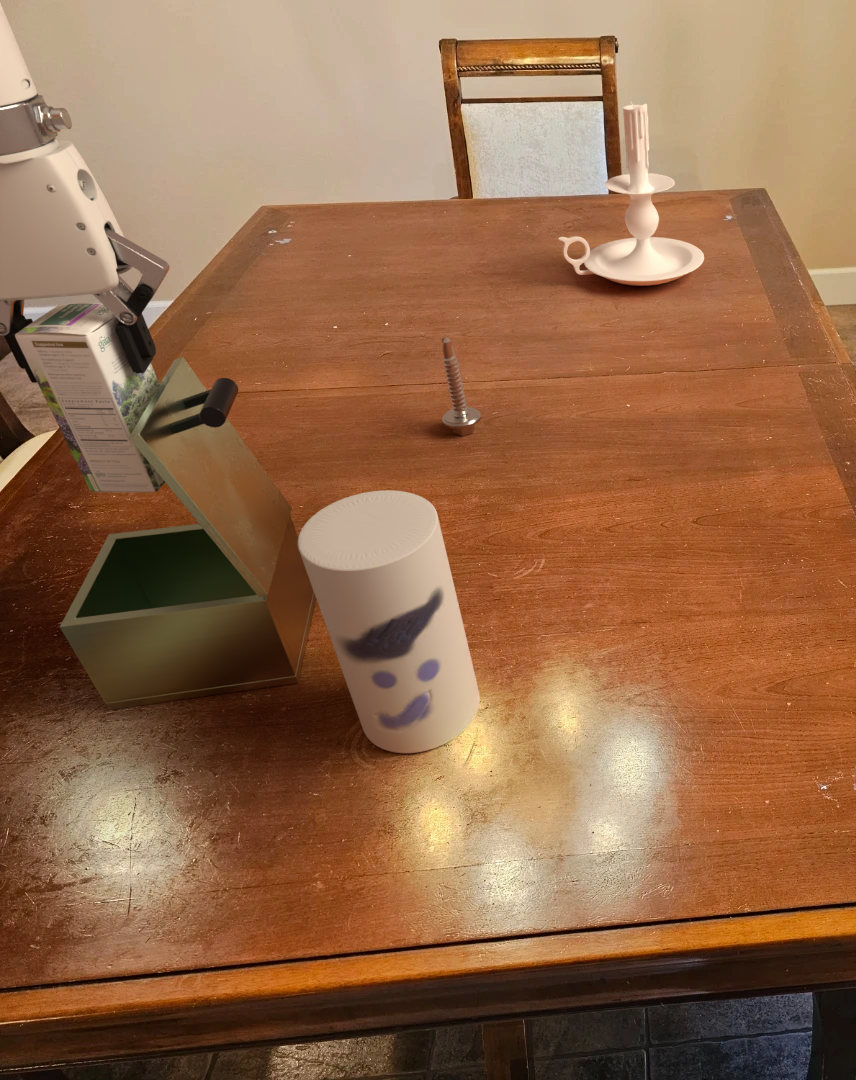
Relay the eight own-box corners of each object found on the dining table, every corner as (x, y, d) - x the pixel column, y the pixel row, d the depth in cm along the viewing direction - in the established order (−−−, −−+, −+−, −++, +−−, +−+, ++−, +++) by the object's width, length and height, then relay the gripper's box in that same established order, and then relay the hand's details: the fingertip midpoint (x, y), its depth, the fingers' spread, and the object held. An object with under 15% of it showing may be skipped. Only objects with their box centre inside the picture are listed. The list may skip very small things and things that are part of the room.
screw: (467, 444, 116) (437, 435, 118) (491, 426, 120) (461, 418, 121) (448, 348, 108) (416, 341, 110) (474, 332, 112) (442, 325, 113)
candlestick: (548, 267, 163) (527, 95, 146) (679, 247, 171) (674, 82, 154) (580, 311, 148) (561, 125, 131) (722, 287, 156) (722, 108, 139)
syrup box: (127, 457, 82) (54, 301, 73) (193, 457, 81) (127, 301, 73) (90, 494, 77) (7, 331, 68) (159, 494, 77) (85, 332, 68)
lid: (128, 437, 67) (193, 415, 67) (174, 359, 77) (230, 339, 77) (259, 597, 77) (315, 578, 77) (284, 510, 87) (334, 493, 87)
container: (386, 774, 75) (321, 586, 63) (346, 700, 82) (279, 517, 69) (499, 718, 80) (458, 534, 68) (452, 653, 86) (408, 473, 74)
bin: (108, 710, 81) (59, 626, 75) (149, 614, 91) (108, 534, 85) (298, 683, 83) (265, 600, 77) (317, 592, 93) (289, 513, 87)
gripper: (140, 111, 67) (221, 340, 78) (-131, 123, 64) (-8, 360, 75) (108, 137, 61) (201, 381, 72) (-192, 152, 58) (-48, 404, 69)
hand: (94, 368), depth 73 cm, fingers closed on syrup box, 6 cm apart
